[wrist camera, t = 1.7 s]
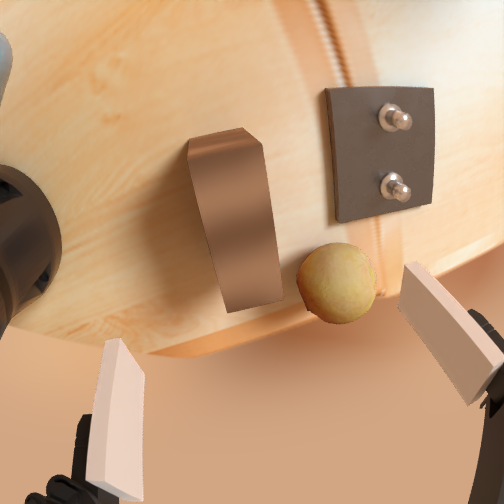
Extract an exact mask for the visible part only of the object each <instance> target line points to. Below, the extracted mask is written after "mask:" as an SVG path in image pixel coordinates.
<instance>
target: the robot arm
mask: <svg viewBox="0 0 504 504" xmlns="http://www.w3.org/2000/svg"><path fill="white" fill-rule="evenodd" d="M12 60H13V56H12V48H11V45H10V43H9V41H8V39H7V38H6V36H5V35H4V34H3V33H1V32H0V105H1V101H2V98H3V94H4V91H5V87H6V84H7V81H8V78H9V75H10V71H11V67H12ZM61 253H62V242H61V234H60V229H59V225H58V222H57V219H56V216H55V213H54V211H53V209H52V207H51V205H50V203H49V201H48V200H47V198H46V196H45V195H44V193H43V192H42V191H41V189H40V188H39V187H38V186H37V185H36V184H35V183H34V182H33V181H32V180H31V179H30V178H29V177H28V176H26V175H25V174H24V173H22V172H20V171H19V170H17V169H15V168H12V167H10V166H6V165H1V164H0V339H1V337H2V335H3V333H4V331H5V329H6V327H7V325H8V323H9V322H10V320H11V318H12V317H14V316H15V315H16V314H17V313H19V312H20V311H21V310H23V309H24V308H25V307H27V306H28V305H29V304H31V303H32V302H33V301H35V300H36V299H38V298H39V297H40V296H41V295H42V294H43V293H44V292H45V291H46V289H47V288H48V287H49V285H50V283H51V281H52V280H53V278H54V276H55V274H56V272H57V270H58V268H59V264H60V260H61ZM398 309H399V310H400V312H401V313H402V314H403V315H404V317H405V318H406V320H407V321H408V322H409V323H410V325H411V326H412V327H413V329H414V330H415V331H416V333H417V334H418V335H419V337H420V338H421V340H422V341H423V342H424V344H425V345H426V346H427V348H428V349H429V350H430V352H431V353H432V355H433V356H434V357H435V359H436V360H437V362H438V363H439V364H440V366H441V367H442V369H443V370H444V372H445V373H446V374H447V376H448V377H449V379H450V380H451V382H452V383H453V385H454V386H455V388H456V389H457V391H458V392H459V394H460V395H461V397H462V398H463V400H464V401H465V403H466V404H467V406H468V405H470V404H472V403H473V402H474V401H476V400H478V399H479V398H480V397H481V396H482V394H483V393H484V392H485V390H486V391H487V393H488V395H487V397H486V398H485V399H484V401H483V402H482V403H481V405H480V408H483V406H484V405H485V404H486V407H485V409H486V410H485V419H484V428H483V435H482V442H481V448H480V454H479V459H478V464H477V469H476V474H475V478H474V482H473V486H472V490H471V494H470V498H469V501H468V504H504V339H503V338H502V337H501V336H500V335H499V333H498V332H497V331H496V330H494V328H493V326H491V324H489V323H488V321H487V320H486V319H485V318H484V316H482V315H481V314H480V313H478V312H477V311H475V310H473V309H470V310H468V311H466V310H465V309H464V308H463V307H462V306H461V305H460V304H459V303H458V302H457V301H456V299H454V297H453V296H452V295H451V294H450V293H449V292H448V291H447V290H446V289H445V288H444V287H443V286H442V285H441V284H440V283H439V282H438V281H437V280H436V279H435V278H434V277H433V276H432V275H431V274H430V273H429V272H428V271H427V270H426V269H425V268H424V267H423V266H422V265H421V264H420V263H419V262H418V261H415V262H412V263H409V264H406V265H404V272H403V279H402V286H401V292H400V299H399V304H398ZM144 383H145V374H144V373H143V371H142V370H141V368H140V367H139V365H138V364H137V362H136V361H135V359H134V358H133V356H132V355H131V353H130V352H129V350H128V349H127V347H126V345H125V344H124V342H123V341H122V339H121V338H115V339H110V340H106V342H105V346H104V351H103V356H102V361H101V366H100V372H99V377H98V382H97V388H96V394H95V399H94V406H93V413H92V414H85V415H83V416H82V418H81V420H80V421H79V423H78V426H77V433H76V437H77V438H76V440H75V448H74V457H73V465H72V475H71V479H70V478H68V477H66V476H64V475H55V476H53V477H52V478H51V479H50V480H49V481H48V483H47V486H46V494H47V496H43V495H41V494H39V493H31V494H29V495H28V496H27V498H26V499H25V504H119V498H121V499H123V500H125V501H137V502H138V501H141V502H143V501H144V500H143V468H142V467H143V466H142V465H143V464H142V440H143V437H142V436H143V403H144V402H143V401H144Z"/></svg>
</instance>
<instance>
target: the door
mask: <svg viewBox="0 0 504 504" xmlns="http://www.w3.org/2000/svg"><path fill="white" fill-rule="evenodd" d="M187 162H188V167H189V171H190V175H191V179H192V183H193V187H194V191H195V195H196V199H197V203H198V207H199V211H200V215H201V219H202V223H203V227H204V230H205V234H206V238H207V242H208V246H209V249H210V253H211V257H212V260H213V264H214V268H215V271H216V275H217V279H218V282H219V286H220V289H221V293H222V296H223V300H224V303H225V307H226V310H227V313H232V312H236V311H240V310H245V309H249V308H253V307H257V306H261V305H265V304H269V303H274V302H278V301H282V300H284V294H283V286H282V279H281V271H280V263H279V256H278V249H277V241H276V234H275V227H274V220H273V213H272V206H271V199H270V192H269V186H268V179H267V172H266V166H265V159H264V153H263V147H262V144H261V143H260V142H259V141H258V140H257V139H256V138H254V137H253V136H252V135H251V134H250V133H248V132H247V131H246V130H245V129H244V128H238V129H233V130H228V131H223V132H218V133H213V134H209V135H204V136H200V137H195V138H191V139H189V146H188V155H187Z"/></svg>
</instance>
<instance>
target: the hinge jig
mask: <svg viewBox="0 0 504 504" xmlns="http://www.w3.org/2000/svg"><path fill="white" fill-rule="evenodd" d="M325 91H326V99H327V108H328V117H329V127H330V137H331V149H332V162H333V177H334V194H335V217H336V220H337V221H338V222H339V223H344V222H349V221H353V220H358V219H362V218H367V217H371V216H376V215H380V214H385V213H389V212H394V211H399V210H403V209H408V208H412V207H417V206H422V205H426V204H431V202H432V191H433V176H434V155H435V108H434V88H427V87H403V86H364V87H339V88H325Z"/></svg>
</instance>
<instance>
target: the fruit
mask: <svg viewBox="0 0 504 504" xmlns="http://www.w3.org/2000/svg"><path fill="white" fill-rule="evenodd" d="M296 277H297V285H298V288H299V291H300V294H301V296H302V298H303V301H304V303H305V306H306V308H307V311H311V313H313V314H315V315H317V316H318V317H319V318H320V319H322V320H323V321H325V322H328V323H333V324H345V323H349V322H352V321H354V320H356V319H358V318H360V317H361V316H362V315H364V314H365V313H366V312H367V311H368V310H369V309H370V307H371V305H372V303H373V301H374V298H375V295H376V273H375V270H374V268H373V265H372V263H371V261H370V259H369V258H368V256H367V255H366V254H365V253H364V252H363V251H362V250H360V249H359V248H357V247H355V246H352V245H349V244H345V243H330V244H326V245H323V246H321V247H319V248H317V249H316V250H315V251H313V252H312V253H311V254H310V255H309V256H308V257H307V258H306V259H305V261H304V262H303V263H302V265H301V267H300V269H299V271H298V273H297V275H296Z"/></svg>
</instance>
